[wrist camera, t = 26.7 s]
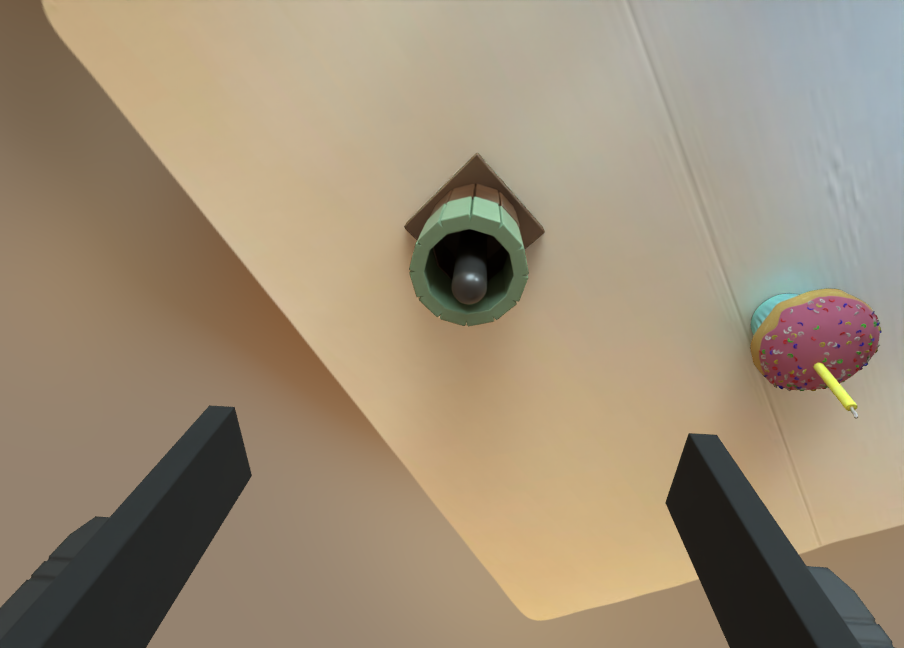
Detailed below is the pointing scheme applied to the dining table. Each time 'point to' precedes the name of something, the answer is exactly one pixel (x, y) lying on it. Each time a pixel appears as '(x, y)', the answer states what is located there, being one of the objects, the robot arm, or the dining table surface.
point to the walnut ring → (441, 252)
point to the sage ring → (437, 284)
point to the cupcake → (814, 340)
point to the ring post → (470, 243)
